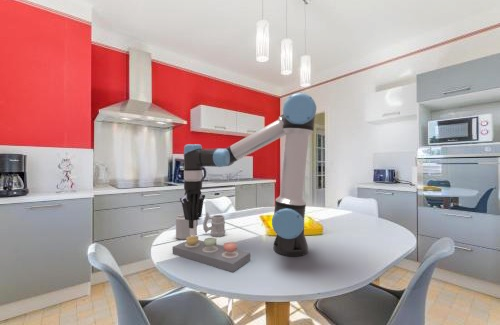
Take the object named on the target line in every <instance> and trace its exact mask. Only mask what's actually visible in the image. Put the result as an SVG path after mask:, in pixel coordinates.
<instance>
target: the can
mask: <svg viewBox="0 0 500 325" xmlns="http://www.w3.org/2000/svg"><path fill="white" fill-rule="evenodd" d="M189 236H192V235H190V228H189V220H185V217H184V212H183V213H182V212H181V213H178V214H177V216H176V218H175V238H176V239H178V240H182V241H183V240H187V237H189Z"/></svg>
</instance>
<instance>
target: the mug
mask: <svg viewBox="0 0 500 325" xmlns="http://www.w3.org/2000/svg"><path fill="white" fill-rule="evenodd" d="M209 220H211V226H210V227H209V226H207V223H208V221H209ZM225 224H226V222H225V216H224V215H223V214H222V215H221V214H217V215H213V216H210V213H209V212H207V211H206V212H205V218H204V219H203V223H202V226H203V227H202V228H203V229H202V230H203V231H204V233H208V232H209V231H210V235H211V237H212V238H221V237H224V236H225V233H226V229H225V226H226V225H225Z"/></svg>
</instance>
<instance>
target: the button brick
mask: <svg viewBox="0 0 500 325" xmlns="http://www.w3.org/2000/svg"><path fill="white" fill-rule="evenodd" d="M223 246H224V251H226V252H234V251H236V250H238V245H237V243H236V242H232V241H229V242H225V243H224V244H223Z"/></svg>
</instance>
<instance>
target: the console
mask: <svg viewBox="0 0 500 325" xmlns="http://www.w3.org/2000/svg"><path fill="white" fill-rule="evenodd" d="M172 255H176V256H179V257H183V258H185V259H188V260H192V261H195V262H198V263H202V264H205V265H207V266H212V267H215V268H218V269H222V270H224V271H228V272H230V273H234V272H236V271H237V270H238V269H239V268H241V267H243V266H244V265H246V264H247V263H248V262H250V261H251V252H248V251H246V250H240V249H237V250H236V251H234V252H226V251H224V245H221V244H217V245H216V246H213V247H206V246H204V240H200V239H198V243H197V244H192V245H190V244H187V243H186V241H184V242H180V243H179V244H176V245H173V246H172Z"/></svg>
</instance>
